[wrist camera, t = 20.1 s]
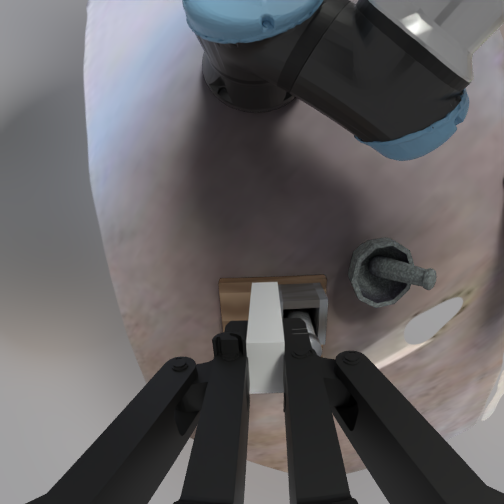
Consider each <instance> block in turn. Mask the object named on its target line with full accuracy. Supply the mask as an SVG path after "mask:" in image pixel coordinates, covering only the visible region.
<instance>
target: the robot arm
mask: <svg viewBox="0 0 504 504" xmlns="http://www.w3.org/2000/svg"><path fill="white" fill-rule="evenodd" d="M182 2H183V7H184V10H185V13H186V17H187V24H188V26H189V27H190V28H191V29H192V31H193V32H194V33H195V34H196V36H197V38H198V40H199V42H200V44H201V46H202V48H203V49H204V54H203V59H202V70H203V75H204V78H205V81H206V83H207V85H208V86H209V88H210V89H211V91H212V92H213V94H214V95H215V96H216V97H217V98H218V99H219V100H221V101H222V102H223V103H225V104H226V105H228V106H230V107H232V108H235V109H238V110H241V111H246V112H266V111H271V110H275V109H277V108H280V107H282V106H284V105H286V104H287V103H289V102H290V101H292V100H293V99H294V98H295V97H296V98H298V99H300V100H301V101H303V102H305V103H306V104H308V105H310V106H311V107H313V108H315V109H316V110H318V111H319V112H321V113H322V114H324V115H326V116H327V117H329V118H330V119H332V120H333V121H335V122H336V123H338V124H339V125H341V126H342V127H344V128H345V129H347V130H348V131H349V132H351V133H352V134H354V137H355V138H356V139H357V140H358V141H360V142H361V143H363V144H366V145H369V146H371V147H372V148H374V149H375V150H376V151H378V152H379V153H381V154H382V155H383V156H385V157H387V158H390V159H394V160H399V161H407V160H412V159H416V158H419V157H422V156H424V155H426V154H428V153H430V152H431V151H433V150H435V149H436V148H438V147H439V146H441V145H442V144H443V143H444V142H446V141H447V140H448V139H449V138H450V137H451V136H452V135H453V134H454V133H455V132H456V130H457V127H456V125H457V124H459V123H461V122H463V121H464V119H465V117H466V115H467V112H468V108H469V97H468V95H467V92H466V89H465V88H466V87H467V86H468V85H469V84H470V83H471V82H472V81H473V79H474V76H473V65H472V58H473V54H474V53H475V52H476V51H477V50H478V49H479V48H480V47H481V46H482V45H483V44H484V43H485V42H486V41H487V40H488V39H489V38H490V37H491V36H492V35H493V34H494V33H495V32H496V31H497V30H498V28H499V27H500V26H501V25H502V24H503V23H504V0H359V1H358V2H357V4H354V3H353V2H351V1H349V0H182ZM212 343H213V350H214V360H212V361H210V362H207V363H202V364H196V363H195V361H194V360H193V359H191V358H189V357H175V358H173V359H170V360H169V361H167V362H166V363H165V364H164V365H163V366H162V368H161V369H160V370H159V371H158V372H157V373H156V374H155V375H154V376H153V378H152V379H151V380H150V381H149V382H148V383H147V384H146V385H145V387H144V388H143V389H142V390H141V391H140V392H139V393H138V394H137V396H135V398H134V399H133V400H132V401H131V402H130V403H129V404H128V405H127V406H126V408H125V409H124V410H123V411H122V412H121V413H120V414H119V415H118V416H117V418H116V419H115V420H114V421H113V422H112V423H111V424H110V425H109V426H108V427H107V429H106V430H105V431H104V432H103V433H102V434H101V435H100V436H99V437H98V438H97V440H96V441H95V442H94V443H93V444H92V445H91V446H90V447H89V448H88V449H87V450H86V452H85V453H84V454H83V455H82V456H81V457H80V458H79V459H78V460H77V462H76V463H74V465H73V466H72V467H71V468H70V469H69V470H68V471H67V472H66V473H65V474H64V476H63V477H62V478H61V479H60V480H59V481H58V482H57V483H56V484H55V485H54V486H53V487H52V488H51V490H50V491H49V492H48V493H47V494H45V495H43V496H41V497H39V498H37V499H34V500H32V501H30V502H28V503H26V504H148V502H149V501H150V499H151V497H152V496H153V494H154V493H155V491H156V490H157V488H158V487H159V485H160V484H161V482H162V481H163V479H164V477H165V476H166V474H167V473H168V471H169V470H170V468H171V466H172V465H173V463H174V462H175V460H176V459H177V457H178V455H179V454H180V452H181V450H182V449H183V447H184V446H185V444H186V442H187V441H188V439H189V437H190V436H191V434H192V433H193V431H194V429H195V428H196V426H197V430H196V434H195V438H194V443H193V446H192V451H191V455H190V459H189V463H188V468H187V473H186V476H185V481H184V485H183V489H182V494H181V497H180V499H179V501H176V502H174V503H173V504H243V503H244V490H245V474H246V458H247V442H248V425H249V408H250V397H249V391H250V394H251V393H284V412H285V425H286V441H287V458H288V476H289V495H290V504H358V502H357V501H356V499H354V498H352V497H351V495H350V491H349V486H348V482H347V477H346V472H345V468H344V463H343V459H342V454H341V450H340V445H339V441H338V437H337V432H336V428H335V424H334V420H333V415H334V417H335V418H336V420H337V422H338V423H339V425H340V426H341V428H342V430H343V431H344V433H345V434H346V436H347V437H348V439H349V441H350V442H351V444H352V445H353V447H354V449H355V450H356V452H357V453H358V455H359V457H360V458H361V460H362V461H363V463H364V464H365V466H366V468H367V469H368V471H369V472H370V474H371V475H372V477H373V478H374V480H375V482H376V483H377V485H378V486H379V488H380V489H381V491H382V492H383V494H384V496H385V497H386V499H387V500H388V502H389V503H390V504H504V493H501V492H499V491H497V490H495V489H493V488H491V487H489V486H487V485H486V484H485V483H484V482H483V481H482V480H481V479H480V478H479V477H478V476H477V474H476V473H475V472H474V471H473V470H472V469H471V468H470V467H469V466H468V465H467V464H466V462H465V461H464V460H463V459H462V458H461V457H460V456H459V455H458V454H457V453H456V452H455V451H454V449H452V447H451V446H450V445H449V444H448V443H447V442H446V441H445V440H444V439H443V438H442V437H441V435H440V434H439V433H438V432H437V431H436V430H435V429H434V428H433V427H432V426H431V425H430V424H429V423H428V421H427V420H426V419H425V418H424V417H423V416H422V415H421V414H420V413H419V412H418V411H417V410H416V409H415V408H414V407H413V405H412V404H411V403H410V402H409V401H408V400H407V399H406V398H405V397H404V396H403V395H402V394H401V393H400V392H399V391H398V390H397V388H396V387H395V386H394V385H393V384H392V383H391V382H390V381H389V380H388V379H387V378H386V377H385V376H384V375H383V374H382V373H381V372H380V371H379V369H378V368H377V367H376V366H375V365H374V364H373V363H372V362H371V361H370V360H369V359H368V358H367V357H366V356H365V355H364V354H362V353H360V352H357V351H344V352H342V353H339V354H338V355H337V356H336V359H335V360H334V359H327V358H323V357H320V356H318V355H317V353H316V351H315V350H314V349H313V348H312V346H311V342H310V338H309V334H308V330H307V326H306V322H304V321H303V320H302V319H301V318H284V319H282V315H281V307H280V299H279V291H278V283H277V282H260V283H252V288H251V298H250V308H249V319H248V320H243V321H230V322H229V323H228V324H227V325H226V326H225V330H224V332H223V333H220V334H217V335H216V336H214V338H213V339H212ZM332 413H333V415H332ZM197 424H198V425H197Z"/></svg>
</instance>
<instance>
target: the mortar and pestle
mask: <svg viewBox="0 0 504 504" xmlns="http://www.w3.org/2000/svg"><path fill="white" fill-rule="evenodd" d="M348 276H349V279H350V281H351V284H352V286H353V289H354V291H355V294H356V296H357V298H358V299H359V300H360V301H362V302H364V303H366V304H368V305H371V306H373V307H375V308H378V307H382V306H387V305H391V304H395V303H396V302H397V301H398V300H399V299H400V298H401V297H402V296H403V295H404V294H405V293H406V292H407V291H408V290H409V289H410V286H411V284H413V285H418V286H423V288H425V289H426V290H430V289H432V288H433V287H434V285H435V282H436V271H435V270H434V269H431V268H429V269H424V268H421V267H417V266H414V263H413V259H412V256H411V253H410V250H408V249H407V248H405V247H404V246H402V245H400V244H399V243H397V242H396V241H394V240H392V239H391V238H379V239H373V240H367V241H366V242H365V243H362V244H361V245H360V246H359V247H358V248H357V249H356V250H355V251H354V252H353V255H352V259H351V264H350V268H349V272H348Z"/></svg>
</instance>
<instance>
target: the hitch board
mask: <svg viewBox="0 0 504 504" xmlns="http://www.w3.org/2000/svg"><path fill="white" fill-rule="evenodd" d="M260 282H277V283H278V291H279V299H280V307H281V315H282V319H284V318H286V317H285V314H283V309H299V308H310V312H309V316H310V319H311V323H312V326H313V329H314V333H315V335H316V336H317V337H318V339H319V341H320V344H321V347H322V350H323V344H325V339H326V326H327V311H328V298H327V296H326V286H327V279H326V277H325V275H305V276H280V277H252V278H220V280H219V283H218V284H219V295H220V305H221V315H222V325H223V332H224V330H225V326H226V325H227V324H228V323H229V322H230V321H243V320H248V319H249V308H250V298H251V288H252V283H260ZM321 357H322V355H321Z"/></svg>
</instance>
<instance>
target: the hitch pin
mask: <svg viewBox="0 0 504 504" xmlns="http://www.w3.org/2000/svg"><path fill="white" fill-rule="evenodd" d="M284 311H285V317H286V318H301V319H302V320H303V321H304V322H306V326H307V330H308V334H309V338H310V342H311V346H312V348H313V349H314V350H315V351H316V353H317V355H318V356H320V357H321V355H322V347H321V344H320V341H319V339H318V337H317V336H316V335H315V333H314V329H313V326H312V323H311V319H310V316H309V313H308V309H307V308H299V309H284Z"/></svg>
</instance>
